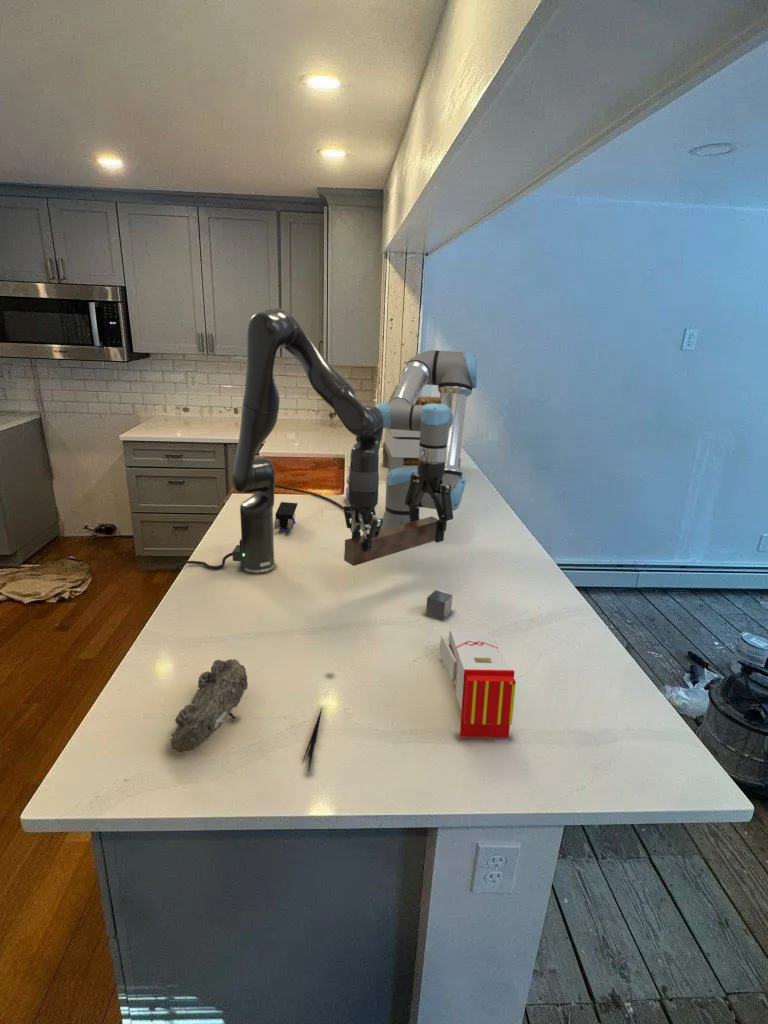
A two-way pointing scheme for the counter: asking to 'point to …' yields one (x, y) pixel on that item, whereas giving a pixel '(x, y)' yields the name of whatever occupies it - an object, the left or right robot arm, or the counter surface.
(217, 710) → the fossil
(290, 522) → the figurine character
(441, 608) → the slate cube
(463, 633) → the toy
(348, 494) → the figurine
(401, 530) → the walnut bar
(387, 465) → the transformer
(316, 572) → the counter surface
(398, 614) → the counter surface
